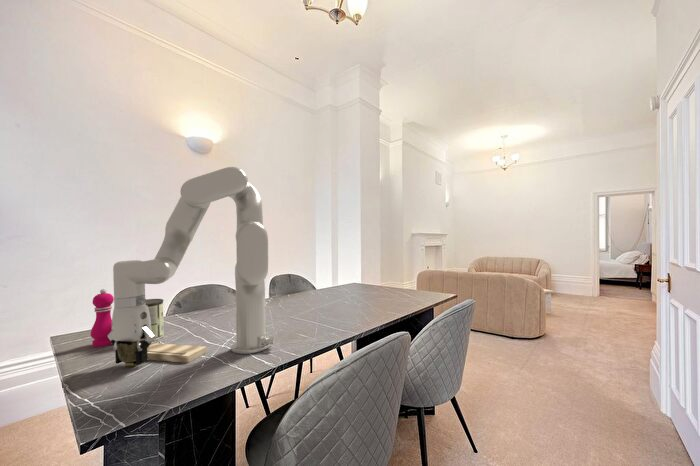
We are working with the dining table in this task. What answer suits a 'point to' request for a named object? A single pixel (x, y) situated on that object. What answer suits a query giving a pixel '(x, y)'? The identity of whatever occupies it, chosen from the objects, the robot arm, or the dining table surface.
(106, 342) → the pepper mill
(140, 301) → the robot arm
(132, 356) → the cup
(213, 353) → the dining table surface
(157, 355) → the maple board
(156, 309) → the coffee can
